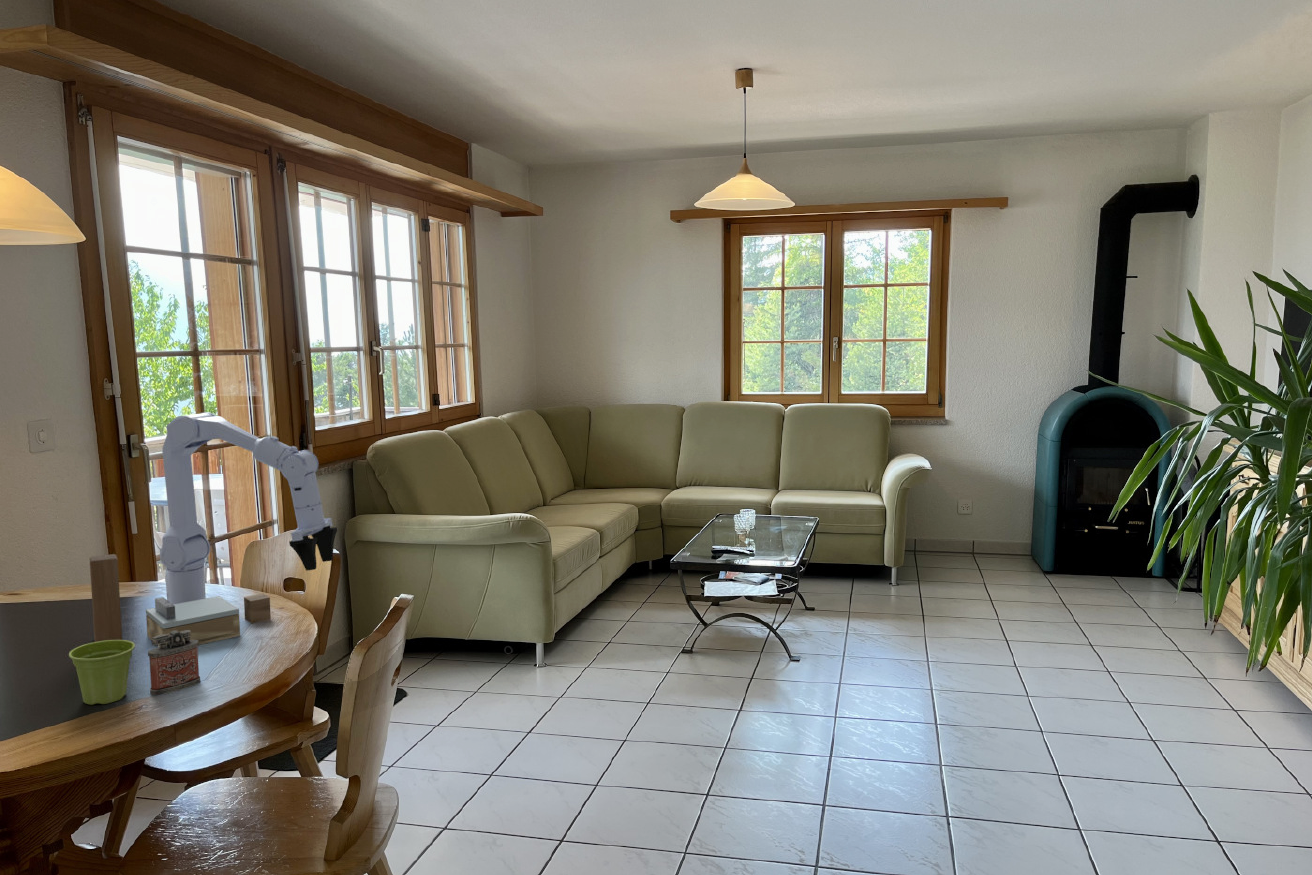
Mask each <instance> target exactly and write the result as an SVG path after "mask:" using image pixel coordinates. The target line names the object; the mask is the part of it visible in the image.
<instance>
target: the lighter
mask: <svg viewBox="0 0 1312 875" xmlns="http://www.w3.org/2000/svg"><path fill="white" fill-rule="evenodd" d="M190 637H191V631H190V630H185V631H181V632H178V631H175V630H174V631H171V632H170V634H168V635H167V634H164V635H160V636H156V637H153V638H152V640H151V644H152V646H156V647H154V648H152V649H149V650H148V651H147V657H149V658H148V659H149V674H150V675H149V676H150V687H149V694H150V695H152V696H161V695H166V694H170V693H173V692H177V691H178V692H179V691H181V690H185V689H188V688H190V687H193V686H197V685H198V684H200V683H201V676H200V675H199V674H200V671H199V651H198V647H199V645H198V640H190ZM183 638H184V640H185V641H183ZM167 642H168V643H167ZM165 643H167V645H166V644H165ZM159 644H160V647H158V646H157V645H159Z"/></svg>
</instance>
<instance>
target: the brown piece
mask: <svg viewBox="0 0 1312 875" xmlns="http://www.w3.org/2000/svg"><path fill="white" fill-rule="evenodd" d="M145 615H146V614H145ZM145 617H146V618H145V621H146V635H147V636H148V637H149V638H150V641H152V638H153V637H156V636H160V635H164V634H167V635H168V634H170V632H171V631H174V630H175V631H178V632H181V631H185V630H190V631H191V637H190V640H198V646H199V645H204V644H208V643H213V642H218V641H223V640H227V639H228V640H229V639H231V638H232V639H233V638H235V637H236V638H237V637H240V636H241V624H240V623H241V621H240V613H239V614H235V615H230V616H225V617H220V618H215V619H210V620H205V621H200V622H195V623H190V624H185V625H180V626H175V627H170V628H165V629H163V628H162V627H161V626H159V625H158V624H157V623H156V622H155V621H153V620H152V619H151V618H150V617H149V616H148V615H146V616H145ZM148 637H147V638H148ZM149 638H148V639H149ZM183 641H185V640H184V638H183ZM167 643H168V642H167ZM167 643H165V644H166V645H167ZM158 646H159V647H160V644H159V645H158ZM158 646H157V647H158Z"/></svg>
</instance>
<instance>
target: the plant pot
mask: <svg viewBox="0 0 1312 875" xmlns="http://www.w3.org/2000/svg"><path fill="white" fill-rule="evenodd" d="M135 648H136V643H134V642H133V641H131V640H127V639H122V640H106V641H99V642H95V641H94V642H93V641H92V642H89V643H86V644H82V645H80V646H77V647H75V648H72V649H71V650H70V651H69V653H68V656H69V657H68V658H70V659H71V660H72V664H73V665H74V667H75V670H76V674H77V678H78V683H79V687H80V692H81V696H82V701H83V703H84V704H87V705H91V706H93V705H95V704H101V705H106V704H107V705H108V704H110V703H114V702H117V701H119V700H122V699H123V697H124V696H126V695H127V688H128V678H129V670H130V669H129V668H130V661H131V657H132V655H133V654H132V653H133V651H134V649H135Z"/></svg>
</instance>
